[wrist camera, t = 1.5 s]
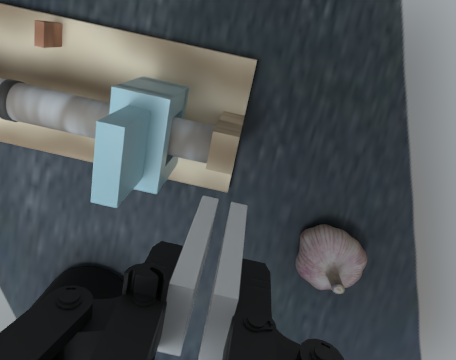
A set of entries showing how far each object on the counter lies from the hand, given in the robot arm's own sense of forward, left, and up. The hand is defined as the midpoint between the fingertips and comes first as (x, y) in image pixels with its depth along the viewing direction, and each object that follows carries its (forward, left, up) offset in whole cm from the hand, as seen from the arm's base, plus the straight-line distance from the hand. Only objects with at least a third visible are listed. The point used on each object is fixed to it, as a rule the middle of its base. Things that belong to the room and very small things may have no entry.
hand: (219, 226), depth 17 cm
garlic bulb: (-11, -12, -21) cm, 26 cm away
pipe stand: (0, +13, -20) cm, 24 cm away
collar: (0, +7, -16) cm, 17 cm away
